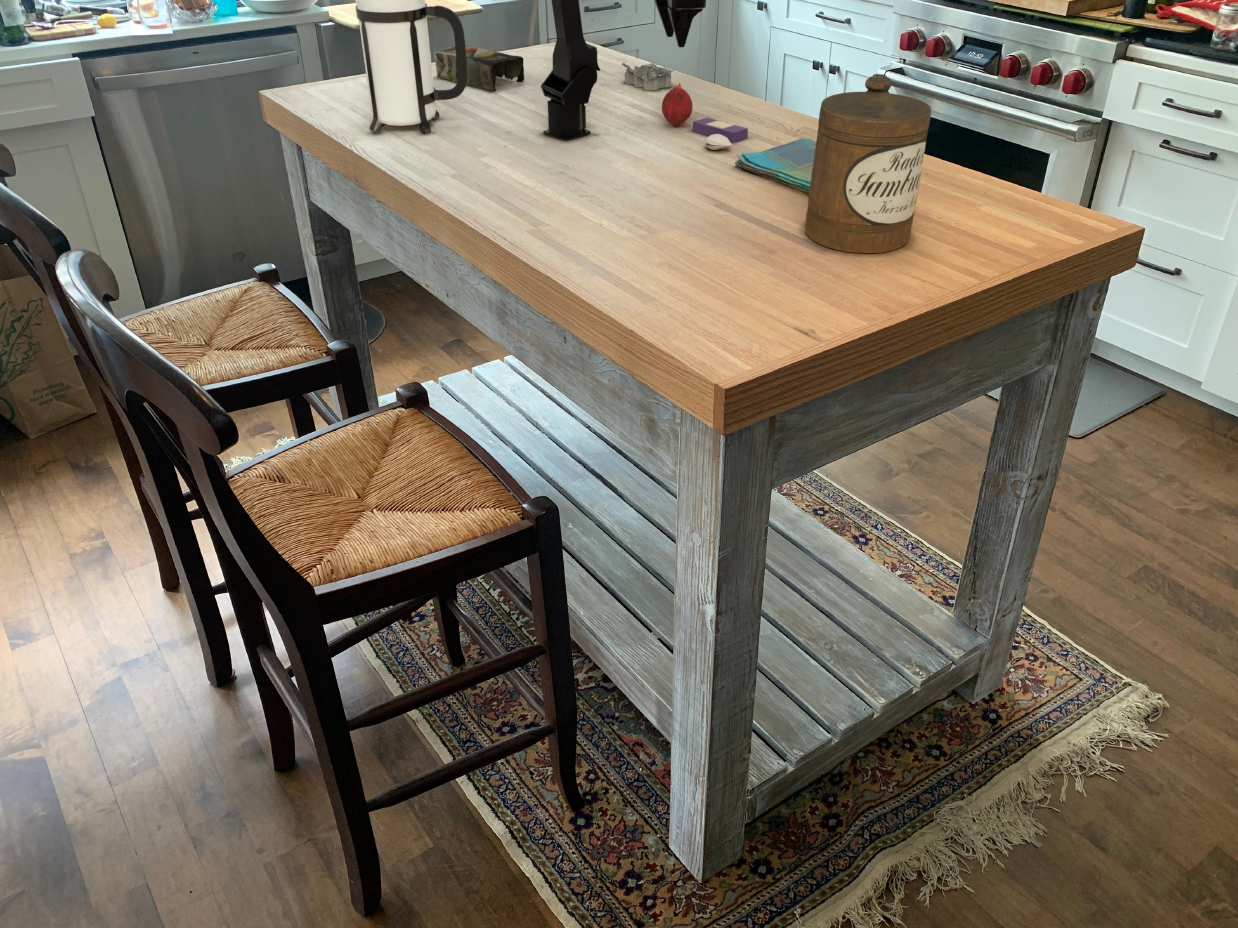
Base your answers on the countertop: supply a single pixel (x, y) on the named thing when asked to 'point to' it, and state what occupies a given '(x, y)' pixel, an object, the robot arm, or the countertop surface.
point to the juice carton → (480, 66)
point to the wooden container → (867, 169)
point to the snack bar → (720, 129)
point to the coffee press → (404, 61)
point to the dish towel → (783, 163)
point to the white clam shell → (717, 142)
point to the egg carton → (648, 76)
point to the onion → (677, 106)
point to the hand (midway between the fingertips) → (675, 42)
